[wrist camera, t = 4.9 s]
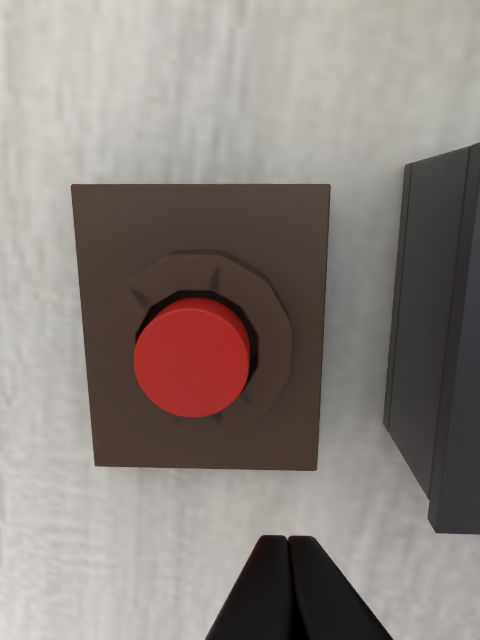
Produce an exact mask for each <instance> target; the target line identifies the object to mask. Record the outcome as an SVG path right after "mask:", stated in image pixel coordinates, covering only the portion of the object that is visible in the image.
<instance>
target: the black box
mask: <svg viewBox="0 0 480 640" xmlns="http://www.w3.org/2000/svg"><path fill="white" fill-rule="evenodd" d="M470 153H471V146H468V147H465V148H461V149H458V150H455V151H451V152H448V153H444V154H441V155H438V156H434V157H431V158H427V159H424V160H421V161H417V162H414V163H410V164H407V165H405V172H404V184H403V196H402V207H401V219H400V231H399V243H398V254H397V266H396V278H395V290H394V301H393V313H392V325H391V337H390V348H389V360H388V372H387V384H386V395H385V407H384V419H383V424H384V425H385V427H386V429H387V431H388V432H389V434H390V435H391V437H392V439H393V440H394V442H395V444H396V445H397V447H398V449H399V450H400V452H401V454H402V456H403V457H404V459H405V461H406V462H407V464H408V466H409V467H410V469H411V471H412V472H413V474H414V476H415V478H416V479H417V481H418V483H419V484H420V486H421V488H422V489H423V491H424V493H425V494H426V496H427V498H428V499H429V500H430V493H431V485H432V476H433V468H434V459H435V451H436V442H437V434H438V425H439V417H440V408H441V400H442V391H443V383H444V374H445V366H446V357H447V349H448V340H449V332H450V323H451V315H452V306H453V298H454V289H455V281H456V272H457V264H458V255H459V247H460V238H461V230H462V221H463V213H464V204H465V196H466V187H467V179H468V170H469V162H470Z"/></svg>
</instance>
